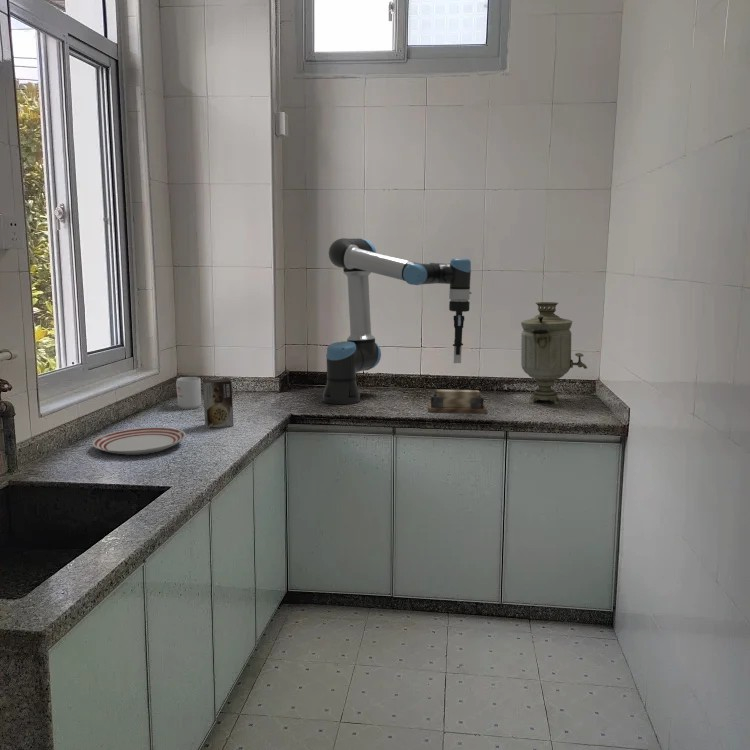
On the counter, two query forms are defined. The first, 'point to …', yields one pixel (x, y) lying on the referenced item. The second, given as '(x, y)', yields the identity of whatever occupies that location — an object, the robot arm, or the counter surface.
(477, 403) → the slat base
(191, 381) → the mug
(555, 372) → the samovar
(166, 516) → the counter surface
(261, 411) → the counter surface
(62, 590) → the counter surface
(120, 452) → the dinner plate
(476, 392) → the slat
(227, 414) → the coffee box
